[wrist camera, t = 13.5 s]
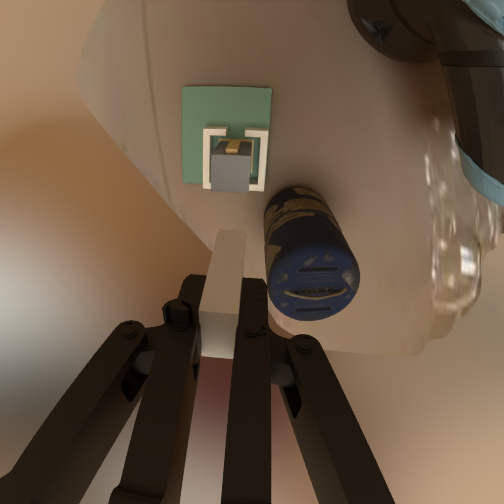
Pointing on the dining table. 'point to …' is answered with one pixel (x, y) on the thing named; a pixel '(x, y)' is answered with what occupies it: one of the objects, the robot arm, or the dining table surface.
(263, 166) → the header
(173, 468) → the robot arm
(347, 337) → the dining table surface
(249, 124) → the board
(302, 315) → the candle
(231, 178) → the plug
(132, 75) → the dining table surface
